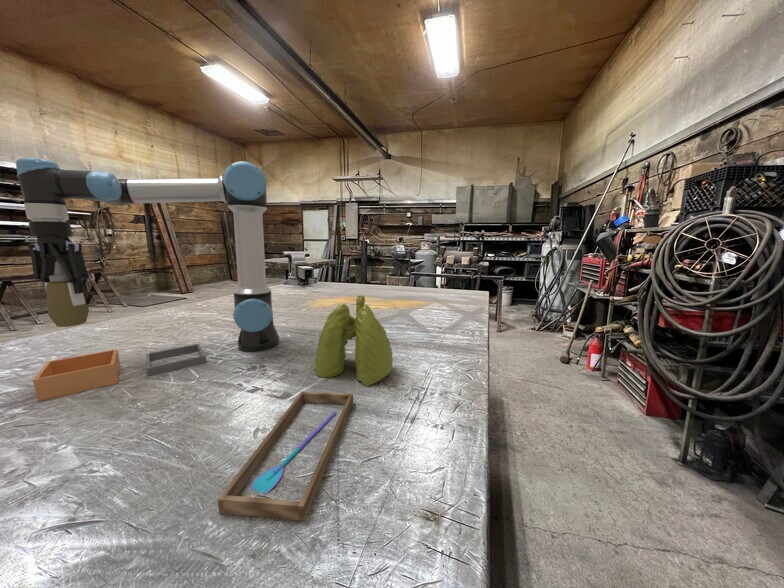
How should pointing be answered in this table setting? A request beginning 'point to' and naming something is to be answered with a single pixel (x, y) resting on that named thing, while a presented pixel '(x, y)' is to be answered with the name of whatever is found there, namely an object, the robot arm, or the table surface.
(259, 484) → the paddle
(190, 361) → the tray
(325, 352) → the lungs
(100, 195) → the robot arm
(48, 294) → the squeeze bottle
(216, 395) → the table surface
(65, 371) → the wooden bin
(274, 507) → the brown wooden frame
